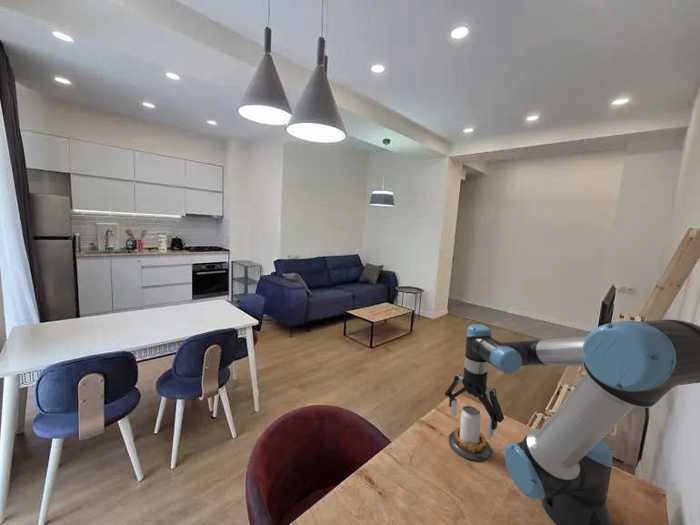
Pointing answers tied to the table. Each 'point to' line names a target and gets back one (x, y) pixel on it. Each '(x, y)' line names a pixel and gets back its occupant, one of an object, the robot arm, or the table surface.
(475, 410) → the can
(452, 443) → the grey and gold ring
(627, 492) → the table surface
